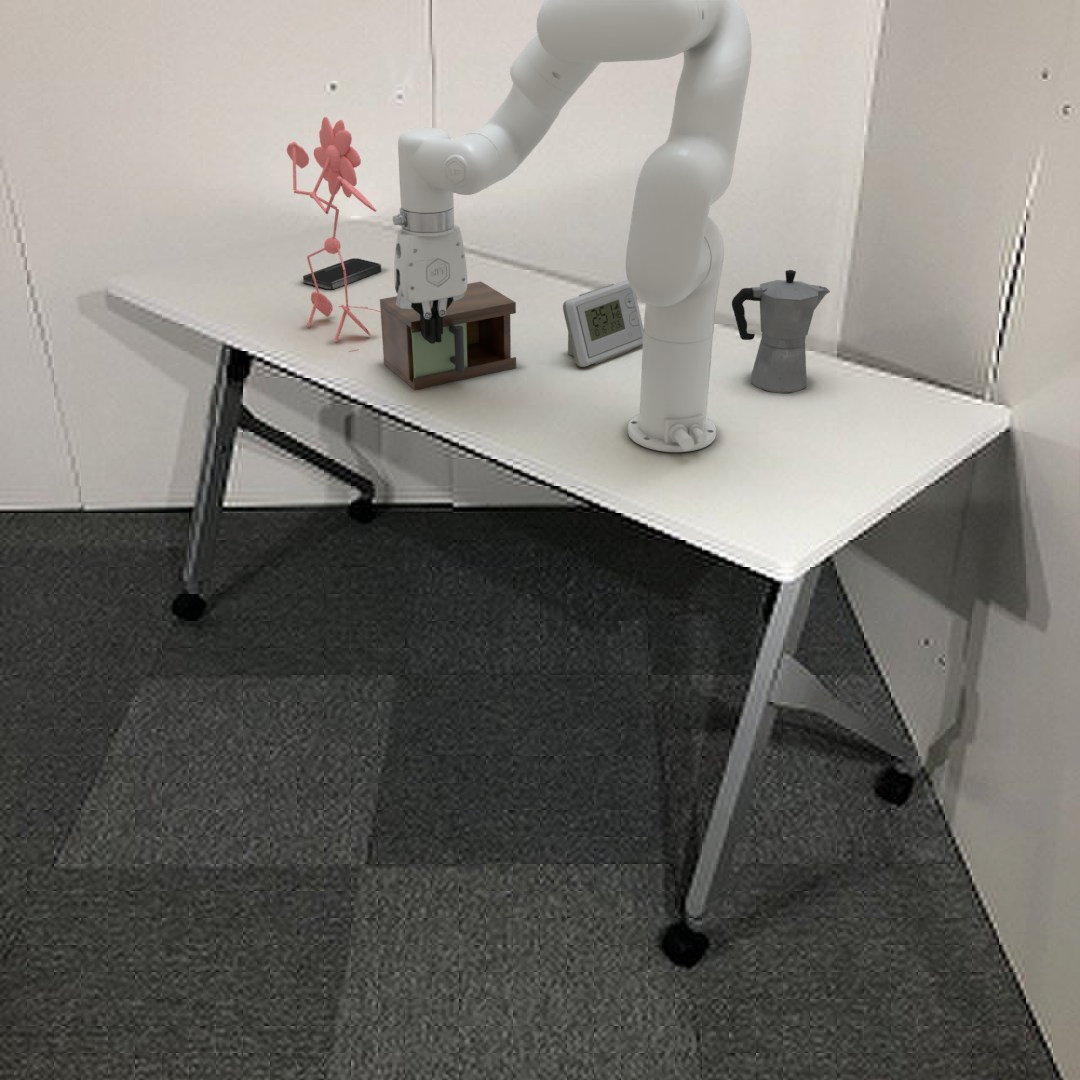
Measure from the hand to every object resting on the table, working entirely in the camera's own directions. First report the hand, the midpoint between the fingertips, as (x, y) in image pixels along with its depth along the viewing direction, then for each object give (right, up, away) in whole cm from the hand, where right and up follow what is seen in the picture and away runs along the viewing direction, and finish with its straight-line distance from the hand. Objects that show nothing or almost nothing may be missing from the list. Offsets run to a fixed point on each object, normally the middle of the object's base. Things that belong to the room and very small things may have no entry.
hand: (432, 340), depth 181 cm
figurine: (-16, +7, +28) cm, 33 cm away
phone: (-22, +21, +52) cm, 60 cm away
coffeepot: (+53, -6, +8) cm, 54 cm away
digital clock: (+27, 0, +18) cm, 32 cm away
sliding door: (+2, -5, +6) cm, 7 cm away
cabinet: (+1, -2, +13) cm, 14 cm away
